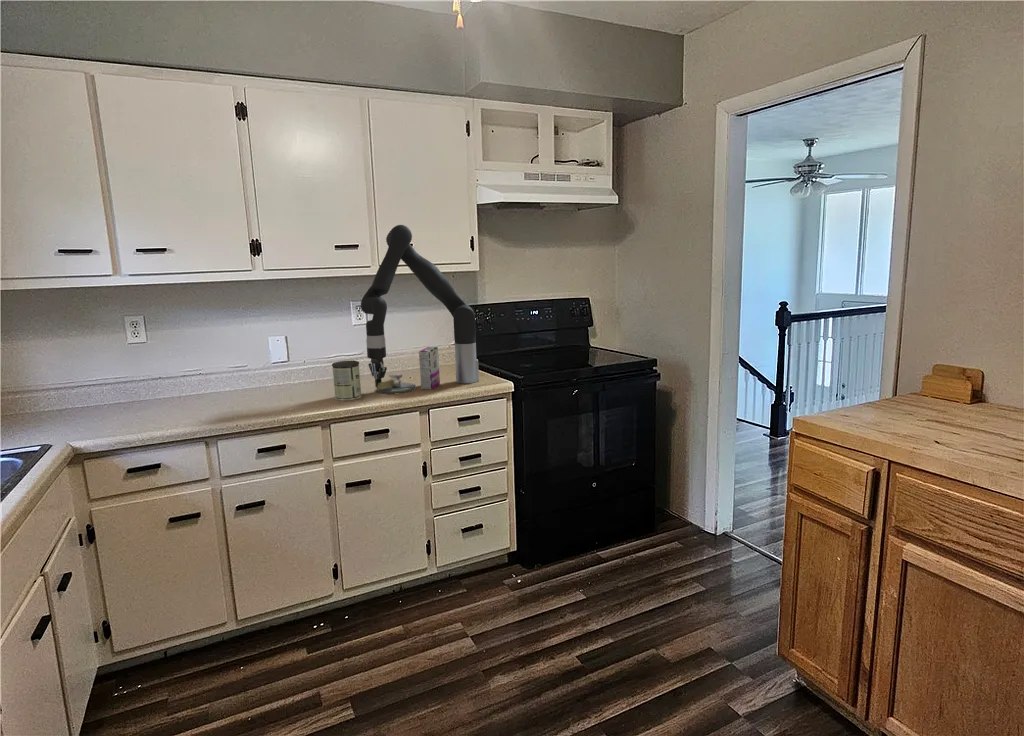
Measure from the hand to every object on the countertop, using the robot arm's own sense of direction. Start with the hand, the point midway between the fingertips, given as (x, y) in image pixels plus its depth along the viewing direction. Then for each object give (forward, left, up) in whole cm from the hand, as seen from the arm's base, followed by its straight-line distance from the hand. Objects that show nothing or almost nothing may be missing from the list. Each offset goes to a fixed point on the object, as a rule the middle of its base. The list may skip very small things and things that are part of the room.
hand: (378, 387), depth 243 cm
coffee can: (+13, +3, -2) cm, 14 cm away
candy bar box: (-22, +2, -2) cm, 22 cm away
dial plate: (-8, -1, -2) cm, 8 cm away
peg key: (-4, +1, -1) cm, 4 cm away
